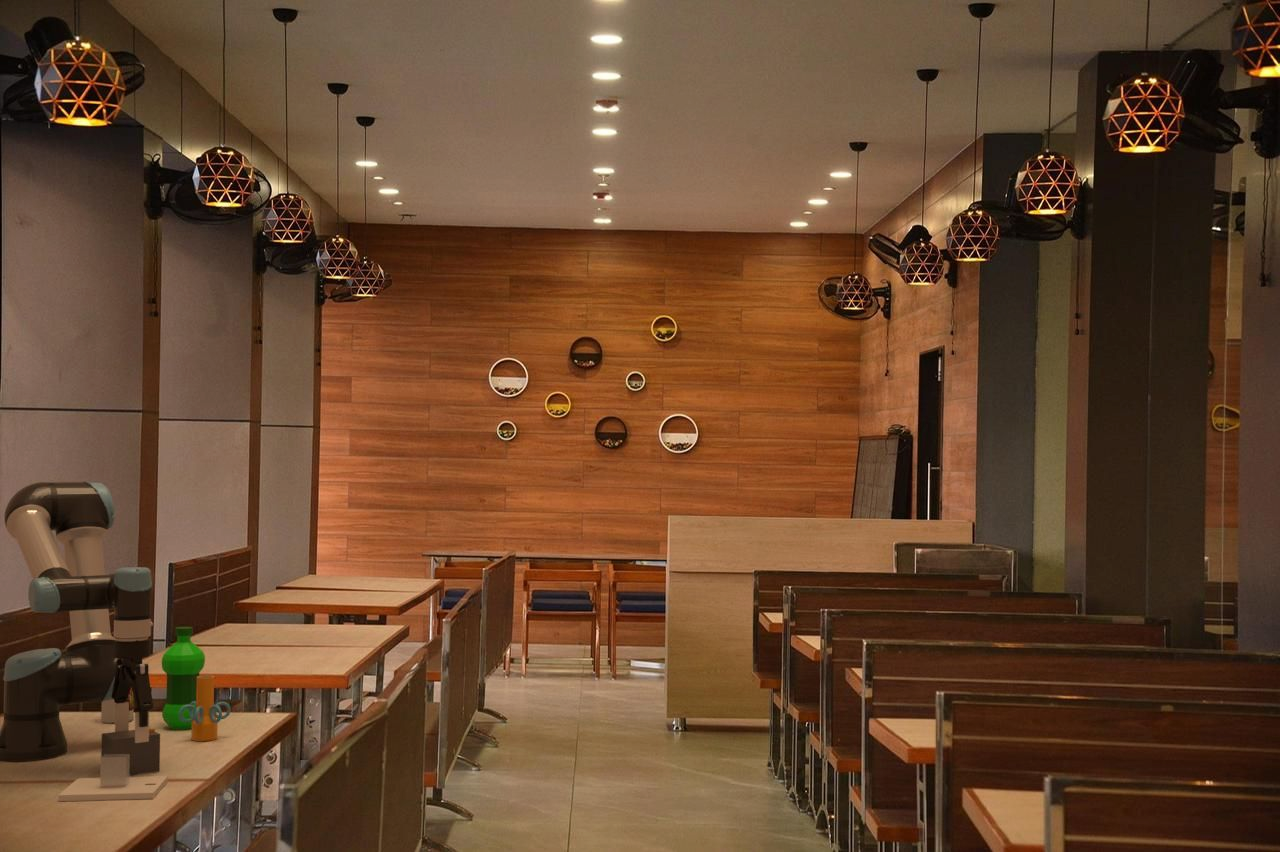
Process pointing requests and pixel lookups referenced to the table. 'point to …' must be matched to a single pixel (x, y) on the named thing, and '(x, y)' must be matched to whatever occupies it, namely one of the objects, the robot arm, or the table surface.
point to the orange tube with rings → (204, 711)
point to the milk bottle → (109, 709)
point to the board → (113, 792)
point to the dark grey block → (134, 750)
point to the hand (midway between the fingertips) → (131, 737)
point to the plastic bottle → (181, 677)
